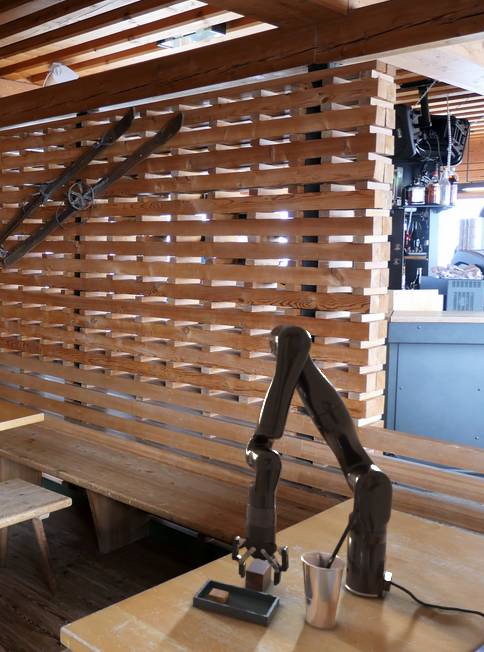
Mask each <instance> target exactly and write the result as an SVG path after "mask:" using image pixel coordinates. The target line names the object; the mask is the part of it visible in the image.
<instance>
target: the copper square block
mask: <svg viewBox="0 0 484 652" xmlns="http://www.w3.org/2000/svg"><path fill="white" fill-rule="evenodd" d="M228 598H229V592H226V591H223V590H219V589H215V588H213V590H212V591H211V592H210V593H209V601H213V602H217V603H221V604H225V603H226V601H227V600H228Z"/></svg>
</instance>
